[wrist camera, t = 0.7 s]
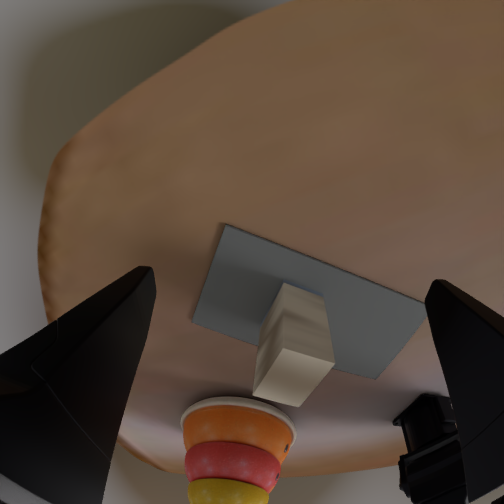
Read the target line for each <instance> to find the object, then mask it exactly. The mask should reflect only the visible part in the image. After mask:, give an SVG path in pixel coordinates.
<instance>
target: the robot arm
mask: <svg viewBox="0 0 504 504" xmlns="http://www.w3.org/2000/svg"><path fill="white" fill-rule="evenodd" d="M155 298H156V284H155V278H154V272H153V269H152V267H150V266H138V267H136V268H135V269H133V270H131V271H130V272H128V273H127V274H125V275H124V276H122V277H120V278H119V279H117V280H116V281H114V282H112V283H111V284H109V285H108V286H106V287H105V288H103V289H102V290H100V291H98V292H97V293H95V294H94V295H92V296H91V297H89V298H88V299H86V300H85V301H83V302H82V303H80V304H79V305H77V306H76V307H74V308H73V309H71V310H70V311H68V312H67V313H65V314H64V315H62V316H61V317H59V318H58V319H57V320H55V321H53V322H52V323H50V324H49V325H47V326H46V327H44V328H43V329H42V330H40V331H38V332H37V333H35V334H34V335H32V336H31V337H29V338H27V339H26V340H24V341H22V342H21V343H19V344H17V345H16V346H14V347H12V348H11V349H9V350H7V351H5V352H4V353H2V354H0V504H102V500H103V495H104V491H105V486H106V481H107V477H108V472H109V469H110V464H111V462H110V461H111V459H112V455H113V451H114V447H115V443H116V440H117V436H118V432H119V428H120V425H121V421H122V418H123V414H124V410H125V407H126V403H127V400H128V397H129V393H130V390H131V387H132V383H133V380H134V377H135V374H136V370H137V367H138V364H139V361H140V358H141V355H142V352H143V349H144V346H145V342H146V339H147V335H148V331H149V326H150V321H151V316H152V312H153V307H154V303H155ZM425 309H426V312H427V316H428V320H429V324H430V328H431V332H432V337H433V341H434V344H435V348H436V351H437V354H438V357H439V360H440V364H441V367H442V370H443V374H444V377H445V381H446V384H447V388H448V392H449V396H450V398H446V397H440V396H434V395H428V394H422V395H421V396H420V397H419V398H418V399H417V400H415V401H414V402H413V403H412V404H411V405H410V406H409V407H408V408H407V409H406V410H405V411H404V412H403V413H402V414H401V415H400V416H398V417H397V418H396V419H395V420H394V421H393V422H392V423H393V425H394V426H402V430H403V434H404V438H405V442H406V446H407V450H408V453H407V454H405V455H404V454H403V455H401V456H400V461H399V462H398V465H399V470H400V484H399V487H400V490H402V491H404V492H405V494H406V496H407V497H408V498H411V501H412V503H413V504H469V503H470V502H473V501H475V500H477V499H479V498H481V497H483V496H484V495H486V494H488V493H490V492H492V491H493V490H495V489H497V488H499V487H501V486H502V485H504V317H502V316H501V315H499V314H498V313H496V312H495V311H493V310H492V309H490V308H489V307H487V306H486V305H484V304H483V303H481V302H480V301H478V300H476V299H475V298H473V297H472V296H470V295H469V294H467V293H465V292H464V291H462V290H461V289H459V288H458V287H456V286H454V285H453V284H451V283H449V282H448V281H446V280H443V279H435V280H434V281H433V282H432V284H431V286H430V289H429V291H428V293H427V296H426V298H425ZM451 403H452V406H451ZM452 408H453V409H452ZM455 423H456V425H457V427H456V425H455ZM491 504H504V495H503V496H501V497H500V498H498V499H496V500H495V501H493V502H492V503H491Z"/></svg>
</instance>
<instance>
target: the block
mask: <svg viewBox="0 0 504 504" xmlns="http://www.w3.org/2000/svg"><path fill="white" fill-rule="evenodd" d="M334 364H335V359H334V353H333V347H332V341H331V335H330V330H329V324H328V319H327V314H326V308H325V303H324V298H323V294H322V293H319V292H316V291H314V290H311V289H308V288H306V287H303V286H300V285H298V284H295V283H292V282H290V281H287V280H283V282H282V284H281V286H280V288H279V290H278V292H277V294H276V296H275V298H274V300H273V301H272V303H271V305H270V307H269V309H268V311H267V313H266V315H265V317H264V319H263V321H262V323H261V325H260V334H259V343H258V352H257V360H256V369H255V377H254V386H253V394H252V395H253V396H257V397H260V398H264V399H267V400H271V401H275V402H279V403H283V404H287V405H291V406H295V407H299V406H300V405H301V404H302V403H303V402H304V401H305V400H306V398H307V397H308V396H309V395H310V394H311V393H312V391H313V390H314V389H315V388H316V387H317V385H318V384H319V383H320V382H321V381H322V379H323V378H324V377H325V376H326V374H327V373H328V372H329V371H330V369H331V368H332V367H333V366H334Z"/></svg>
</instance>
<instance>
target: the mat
mask: <svg viewBox="0 0 504 504" xmlns="http://www.w3.org/2000/svg"><path fill="white" fill-rule="evenodd" d="M283 280H287V281H290V282H292V283H295V284H298V285H300V286H303V287H306V288H308V289H311V290H314V291H316V292H319V293H322V294H323V298H324V303H325V308H326V314H327V319H328V324H329V330H330V335H331V341H332V347H333V353H334V359H335V364H334V366H333V367H332V368H333V369H336V370H340V371H344V372H348V373H352V374H356V375H360V376H364V377H368V378H372V379H377V377H378V376H379V375H380V374H381V373H382V372H383V371H384V370H385V368H386V367H387V366H388V365H389V364H390V363H391V361H392V360H393V359H394V358H395V357H396V355H397V354H398V353H399V352H400V351H401V349H402V348H403V347H404V346H405V344H406V343H407V342H408V341H409V339H410V338H411V337H412V335H413V334H414V333H415V332H416V330H417V329H418V328H419V326H420V325H421V324H422V322H423V321H424V319H425V318H426V317H427V312H426V309H425V303H423V302H420V301H418V300H415V299H413V298H411V297H408V296H406V295H403V294H401V293H399V292H396V291H394V290H391V289H389V288H386V287H384V286H382V285H379V284H377V283H374V282H372V281H369V280H367V279H364V278H362V277H359V276H357V275H355V274H352V273H350V272H347V271H345V270H342V269H340V268H337V267H335V266H332V265H330V264H327V263H325V262H322V261H320V260H317V259H315V258H312V257H310V256H307V255H305V254H302V253H300V252H297V251H294V250H292V249H289V248H287V247H284V246H282V245H279V244H277V243H274V242H272V241H269V240H266V239H264V238H261V237H259V236H256V235H254V234H251V233H248V232H246V231H243V230H241V229H238V228H235V227H233V226H230V225H228V224H226V226H225V228H224V231H223V234H222V237H221V239H220V242H219V245H218V248H217V250H216V253H215V256H214V259H213V262H212V264H211V267H210V270H209V273H208V276H207V279H206V281H205V284H204V287H203V290H202V293H201V296H200V299H199V302H198V304H197V307H196V310H195V313H194V316H193V319H192V323H195V324H197V325H200V326H203V327H205V328H208V329H211V330H213V331H216V332H219V333H222V334H224V335H227V336H230V337H233V338H236V339H239V340H242V341H244V342H247V343H250V344H253V345H256V346H258V343H259V334H260V325H261V323H262V321H263V319H264V317H265V315H266V313H267V311H268V309H269V307H270V305H271V303H272V301H273V300H274V298H275V296H276V294H277V292H278V290H279V288H280V286H281V284H282V282H283Z"/></svg>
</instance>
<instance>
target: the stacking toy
mask: <svg viewBox="0 0 504 504" xmlns="http://www.w3.org/2000/svg"><path fill="white" fill-rule="evenodd" d="M180 425H181V428H182V431H183V438H184V444H185V448H186V451H187V453H186V456H185V471H186V475H187V478H188V480H189V482H190V484H189V486H188V498H189V501H190V504H267V503H268V498H269V495H268V494H269V492H271V490H272V489H273V488H274V486H275V485H276V483H277V481H278V479H279V475H280V470H281V464H282V462H283V461H284V459H285V458H286V456H287V454H288V451H289V448H290V447H291V446H292V445H293V444H294V442H295V440H296V437H297V432H296V428H295V425H294V423H293V422H292V420H291V419H290V418H289V417H288V416H287V415H286V414H285V413H284V412H282V411H281V410H279V409H277V408H276V407H274V406H272V405H269V404H267V403H264V402H261V401H258V400H254V399H249V398H242V397H213V398H208V399H204V400H201V401H199V402H197V403H195V404H193V405H191V406H190V407H189V408H188V409H187V410H186V411H185V412H184V413H183V415H182V417H181V421H180Z"/></svg>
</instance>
